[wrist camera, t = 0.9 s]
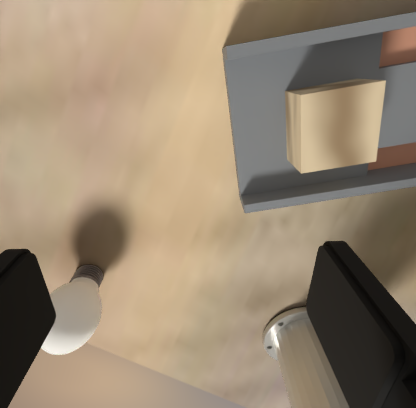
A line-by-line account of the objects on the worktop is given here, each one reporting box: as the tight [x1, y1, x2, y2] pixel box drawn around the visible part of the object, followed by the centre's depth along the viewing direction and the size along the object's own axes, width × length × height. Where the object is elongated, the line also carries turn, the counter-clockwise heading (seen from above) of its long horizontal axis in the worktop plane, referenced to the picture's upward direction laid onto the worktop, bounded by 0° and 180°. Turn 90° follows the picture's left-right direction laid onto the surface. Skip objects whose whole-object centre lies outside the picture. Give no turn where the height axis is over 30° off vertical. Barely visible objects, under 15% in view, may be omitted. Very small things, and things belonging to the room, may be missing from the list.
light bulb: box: [41, 265, 103, 355], centre depth 33 cm, size 7×7×11 cm
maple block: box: [285, 79, 386, 174], centre depth 26 cm, size 7×7×4 cm
